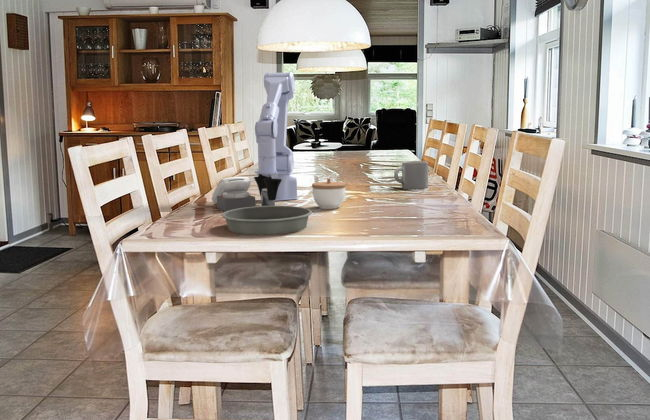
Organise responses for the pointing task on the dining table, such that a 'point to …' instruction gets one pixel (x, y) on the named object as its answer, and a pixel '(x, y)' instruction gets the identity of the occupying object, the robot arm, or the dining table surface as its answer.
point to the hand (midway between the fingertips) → (268, 198)
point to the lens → (266, 198)
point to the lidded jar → (329, 194)
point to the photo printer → (231, 186)
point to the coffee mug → (413, 174)
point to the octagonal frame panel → (235, 200)
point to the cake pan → (267, 219)
